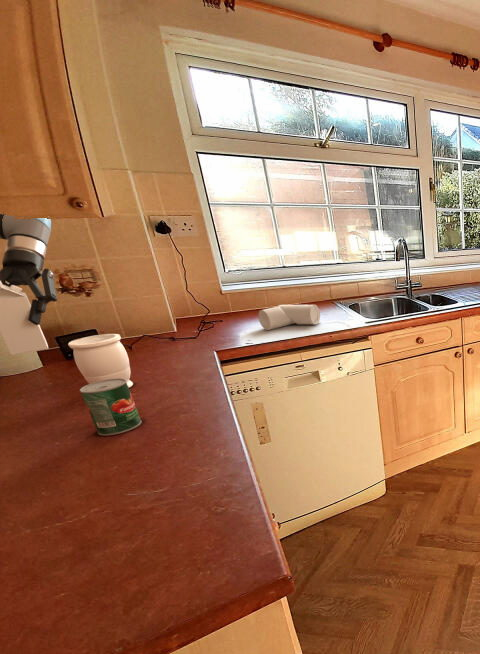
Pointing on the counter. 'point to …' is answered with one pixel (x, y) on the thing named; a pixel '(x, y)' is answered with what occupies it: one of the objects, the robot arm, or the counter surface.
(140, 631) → the counter surface
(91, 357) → the jar
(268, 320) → the l-shaped cylinder
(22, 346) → the milk carton
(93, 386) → the canned tomato
